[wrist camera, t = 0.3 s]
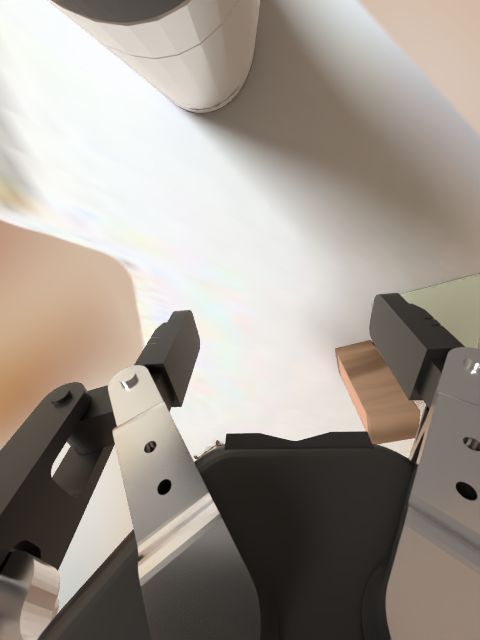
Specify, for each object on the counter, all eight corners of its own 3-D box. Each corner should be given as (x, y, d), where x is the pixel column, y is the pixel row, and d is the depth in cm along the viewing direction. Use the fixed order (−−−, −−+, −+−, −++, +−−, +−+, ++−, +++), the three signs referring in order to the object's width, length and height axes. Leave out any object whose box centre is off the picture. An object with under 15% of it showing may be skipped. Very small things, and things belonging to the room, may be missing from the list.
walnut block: (334, 348, 37) (369, 420, 27) (370, 340, 36) (420, 410, 26) (338, 371, 39) (371, 445, 29) (371, 364, 38) (417, 437, 28)
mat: (371, 301, 32) (373, 303, 32) (493, 269, 30) (495, 271, 29) (376, 391, 42) (377, 392, 41) (469, 372, 39) (471, 374, 39)
